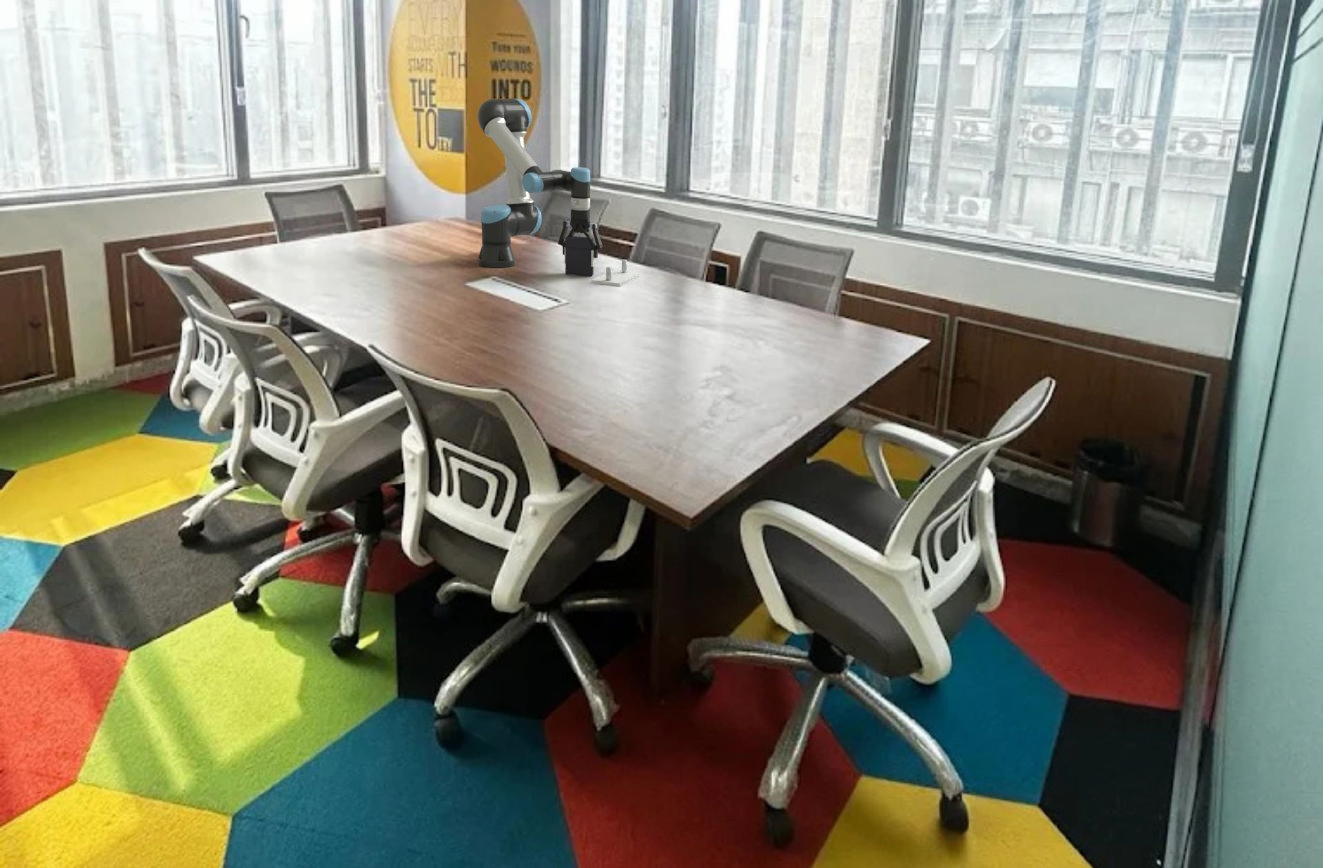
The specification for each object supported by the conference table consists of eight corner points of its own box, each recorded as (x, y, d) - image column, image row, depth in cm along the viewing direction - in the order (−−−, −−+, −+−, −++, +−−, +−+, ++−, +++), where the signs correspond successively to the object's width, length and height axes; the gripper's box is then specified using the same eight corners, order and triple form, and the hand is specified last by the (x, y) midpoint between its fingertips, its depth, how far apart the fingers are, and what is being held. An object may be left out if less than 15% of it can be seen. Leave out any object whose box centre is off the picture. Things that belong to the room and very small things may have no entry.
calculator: (593, 274, 386) (594, 237, 380) (592, 276, 382) (592, 239, 376) (567, 272, 387) (567, 235, 381) (564, 275, 383) (565, 237, 377)
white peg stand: (591, 283, 372) (591, 267, 369) (613, 272, 391) (613, 257, 389) (619, 286, 368) (620, 270, 366) (640, 275, 387) (641, 260, 385)
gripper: (549, 207, 375) (549, 263, 383) (604, 212, 368) (603, 269, 376) (557, 205, 382) (557, 260, 390) (611, 210, 374) (610, 266, 382)
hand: (580, 264), depth 383 cm, fingers closed on calculator, 11 cm apart
